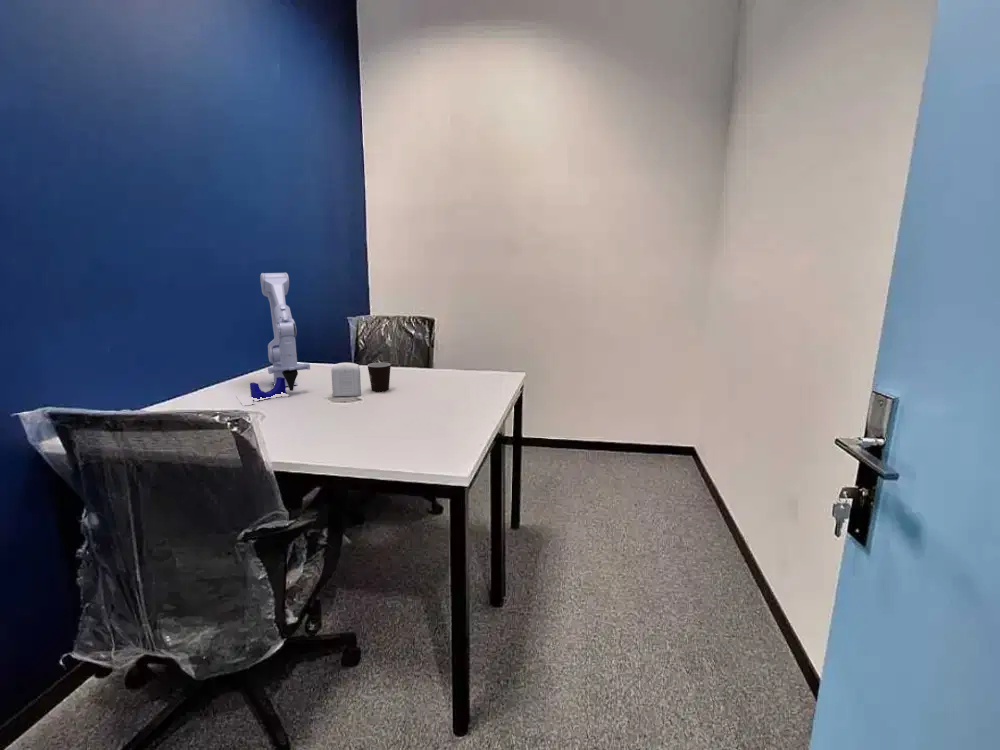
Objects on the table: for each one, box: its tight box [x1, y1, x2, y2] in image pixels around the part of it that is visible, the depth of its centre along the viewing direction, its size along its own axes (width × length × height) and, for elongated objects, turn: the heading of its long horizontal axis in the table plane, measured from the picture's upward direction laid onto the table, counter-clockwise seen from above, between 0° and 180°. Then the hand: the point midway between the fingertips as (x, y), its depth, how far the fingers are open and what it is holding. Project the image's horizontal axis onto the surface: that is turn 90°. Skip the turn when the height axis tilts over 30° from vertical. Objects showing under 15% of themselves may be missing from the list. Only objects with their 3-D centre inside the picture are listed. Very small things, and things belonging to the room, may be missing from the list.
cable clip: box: [249, 377, 287, 399], centre depth 205 cm, size 12×4×6 cm, turn 143°
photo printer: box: [331, 362, 362, 397], centre depth 207 cm, size 10×4×12 cm, turn 98°
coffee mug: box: [367, 362, 392, 393], centre depth 216 cm, size 12×9×10 cm
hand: (291, 390), depth 210 cm, fingers closed
